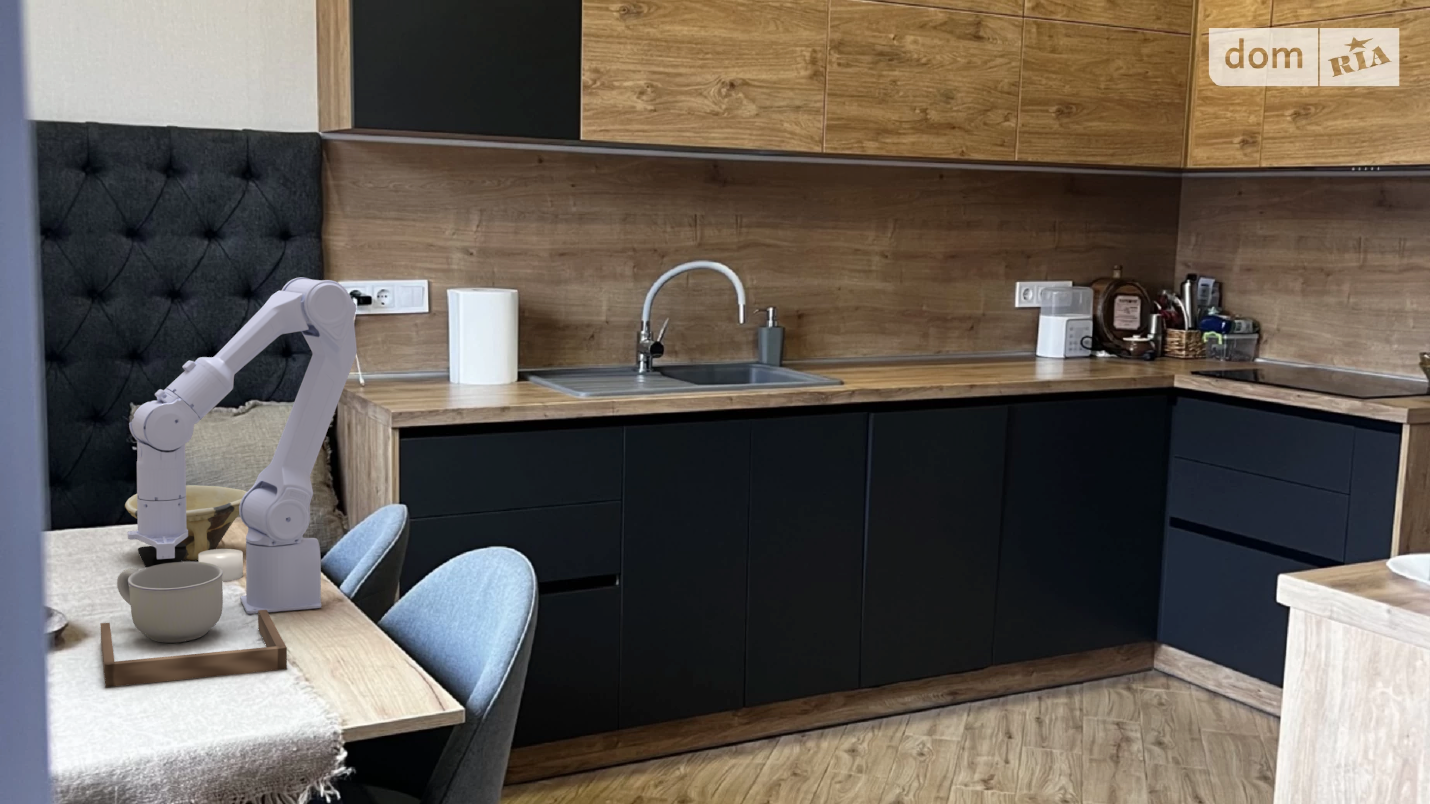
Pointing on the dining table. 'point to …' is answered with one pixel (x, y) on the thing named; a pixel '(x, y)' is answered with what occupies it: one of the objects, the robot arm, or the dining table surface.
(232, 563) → the white frosted puck
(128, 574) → the teacup
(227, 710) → the dining table surface
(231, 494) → the bowl
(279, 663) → the corral
